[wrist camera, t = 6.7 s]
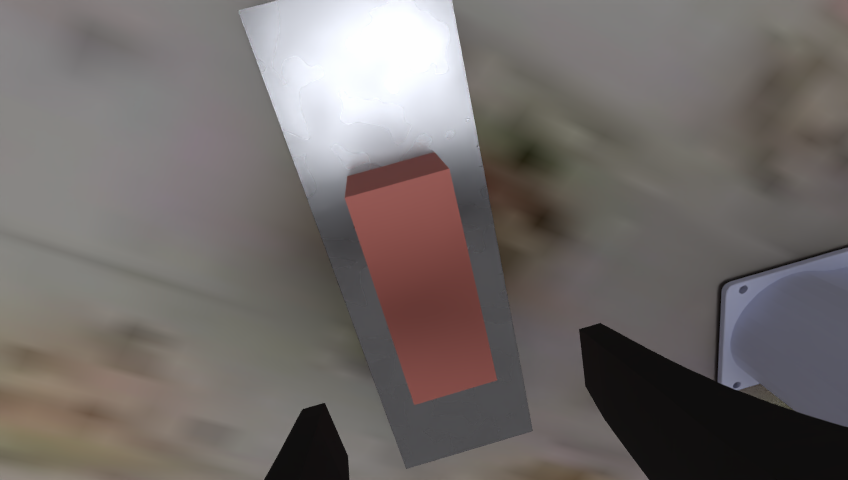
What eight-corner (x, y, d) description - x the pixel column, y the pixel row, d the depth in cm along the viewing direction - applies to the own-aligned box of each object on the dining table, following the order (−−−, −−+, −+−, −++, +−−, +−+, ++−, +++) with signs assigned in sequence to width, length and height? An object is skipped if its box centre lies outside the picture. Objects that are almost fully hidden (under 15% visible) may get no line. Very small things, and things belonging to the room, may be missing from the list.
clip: (427, 143, 18) (449, 168, 14) (468, 315, 22) (497, 380, 17) (348, 165, 18) (344, 197, 14) (402, 334, 22) (414, 404, 17)
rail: (432, -27, 17) (443, -43, 14) (516, 397, 25) (532, 430, 23) (255, 18, 16) (237, 10, 14) (401, 431, 25) (406, 469, 23)
